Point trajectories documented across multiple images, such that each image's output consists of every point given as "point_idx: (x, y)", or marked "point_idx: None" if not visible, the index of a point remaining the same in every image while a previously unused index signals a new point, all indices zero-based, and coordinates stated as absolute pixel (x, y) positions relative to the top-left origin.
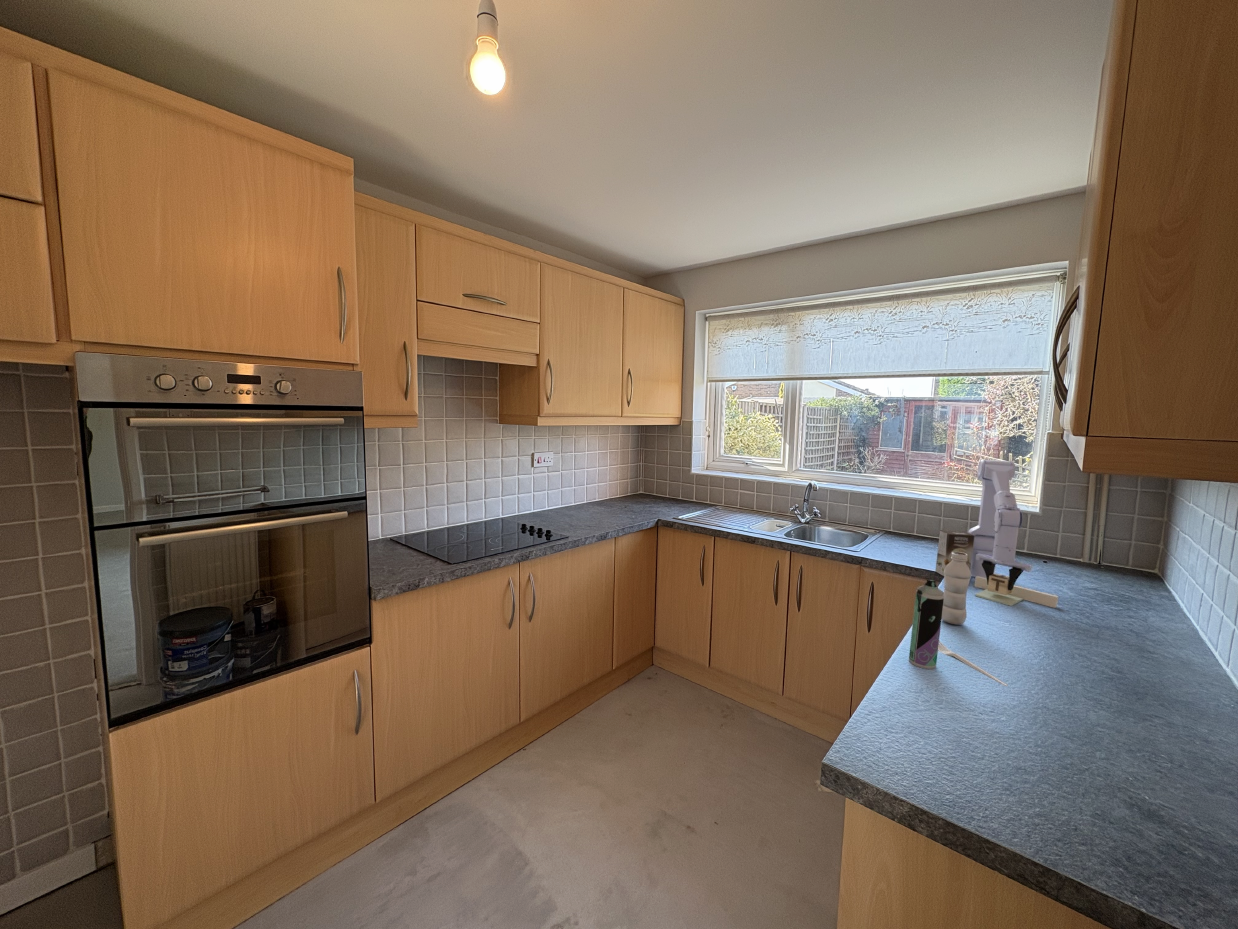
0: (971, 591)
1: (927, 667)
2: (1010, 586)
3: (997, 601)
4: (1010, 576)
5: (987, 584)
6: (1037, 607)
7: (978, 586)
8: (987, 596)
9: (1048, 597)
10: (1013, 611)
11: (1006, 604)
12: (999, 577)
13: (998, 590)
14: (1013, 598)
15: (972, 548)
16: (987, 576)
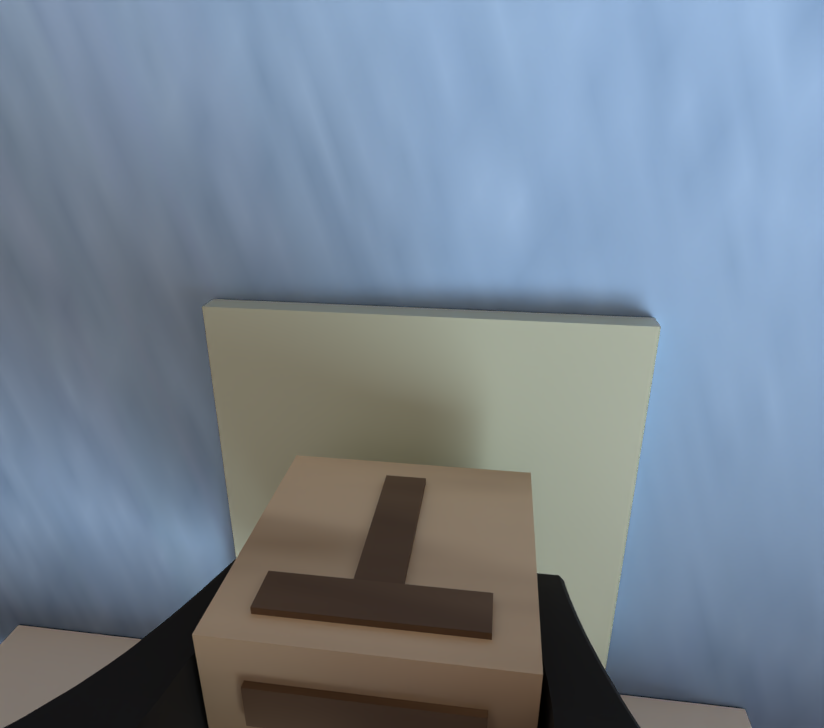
0: (733, 492)
1: None
2: (215, 582)
3: (363, 307)
4: (112, 725)
5: (561, 579)
6: (82, 512)
7: (703, 715)
8: (503, 375)
9: (11, 707)
10: (95, 75)
11: (263, 302)
12: (360, 693)
13: (383, 488)
14: None
15: None
16: (585, 678)
